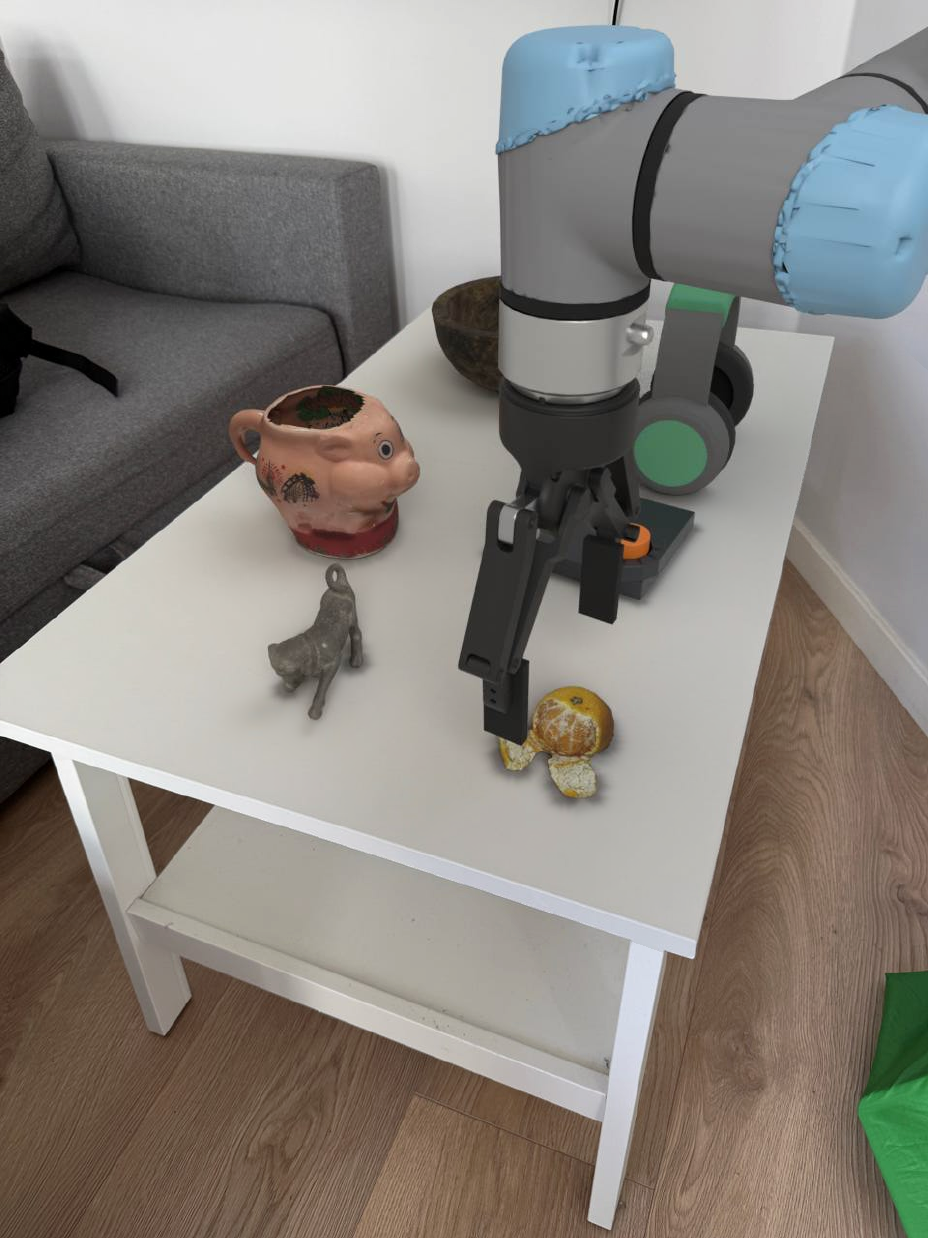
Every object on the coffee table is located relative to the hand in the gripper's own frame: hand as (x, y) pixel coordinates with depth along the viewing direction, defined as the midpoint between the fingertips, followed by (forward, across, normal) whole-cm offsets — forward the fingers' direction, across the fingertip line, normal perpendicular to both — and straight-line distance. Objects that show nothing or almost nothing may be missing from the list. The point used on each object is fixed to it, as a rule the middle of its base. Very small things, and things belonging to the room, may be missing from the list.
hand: (554, 671), depth 62 cm
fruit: (+8, 0, 0) cm, 8 cm away
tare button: (+4, +22, +4) cm, 23 cm away
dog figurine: (+8, -2, +20) cm, 21 cm away
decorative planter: (+8, +15, +32) cm, 36 cm away
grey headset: (+8, +45, +7) cm, 46 cm away
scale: (+8, +26, +9) cm, 28 cm away
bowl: (+8, +54, +32) cm, 63 cm away
